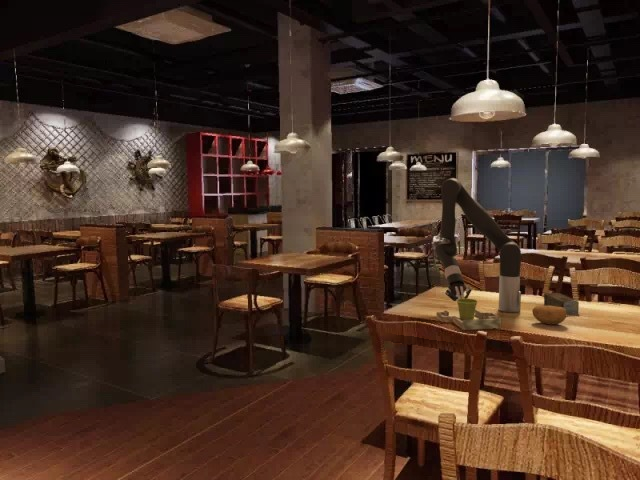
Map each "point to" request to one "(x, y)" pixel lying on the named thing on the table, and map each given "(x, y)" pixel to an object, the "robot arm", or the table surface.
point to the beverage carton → (561, 302)
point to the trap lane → (487, 323)
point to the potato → (549, 314)
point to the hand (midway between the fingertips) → (462, 307)
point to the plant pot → (466, 308)
